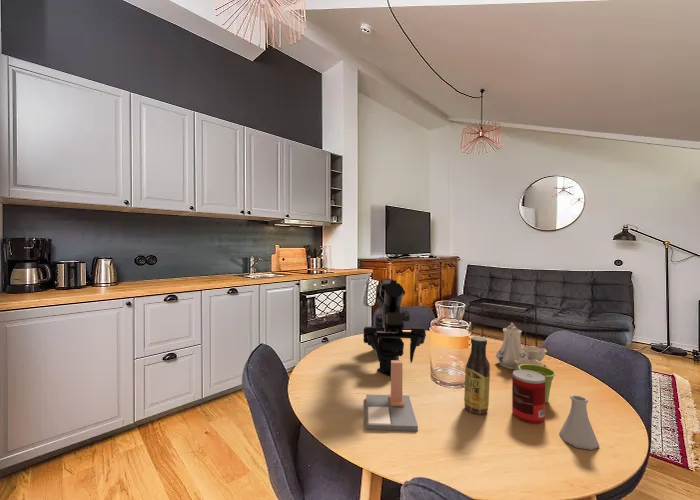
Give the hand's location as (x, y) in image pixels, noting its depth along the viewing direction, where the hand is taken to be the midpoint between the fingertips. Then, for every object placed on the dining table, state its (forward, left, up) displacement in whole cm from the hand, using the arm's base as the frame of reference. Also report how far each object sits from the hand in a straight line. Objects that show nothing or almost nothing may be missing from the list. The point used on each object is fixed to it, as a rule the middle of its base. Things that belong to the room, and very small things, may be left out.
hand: (395, 361), depth 93 cm
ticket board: (+6, +4, -11) cm, 14 cm away
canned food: (-22, +27, -11) cm, 37 cm away
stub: (+2, +3, -10) cm, 10 cm away
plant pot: (-34, +24, -12) cm, 43 cm away
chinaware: (-56, +10, -12) cm, 58 cm away
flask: (-20, +39, -12) cm, 46 cm away
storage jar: (-29, -34, -11) cm, 46 cm away
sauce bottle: (-14, +17, -11) cm, 25 cm away
